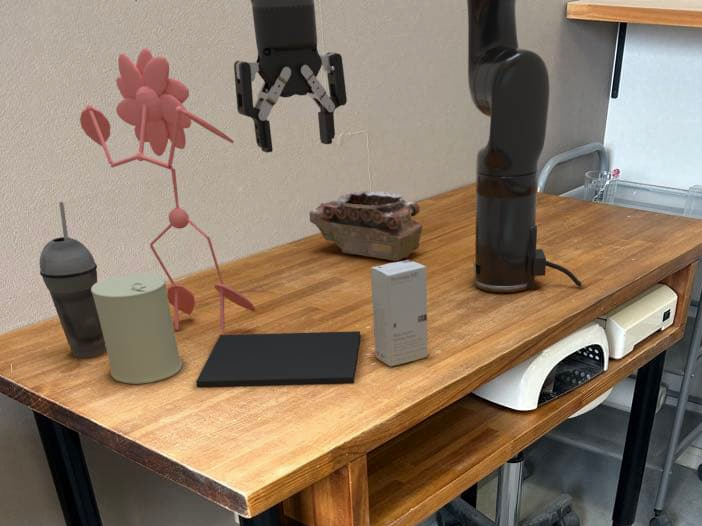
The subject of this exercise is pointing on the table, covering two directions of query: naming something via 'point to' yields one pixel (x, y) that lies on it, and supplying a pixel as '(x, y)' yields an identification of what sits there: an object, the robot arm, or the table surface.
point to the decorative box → (370, 224)
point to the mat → (281, 359)
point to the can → (137, 327)
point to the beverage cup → (73, 292)
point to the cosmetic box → (399, 312)
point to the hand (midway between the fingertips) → (297, 147)
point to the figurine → (158, 147)
